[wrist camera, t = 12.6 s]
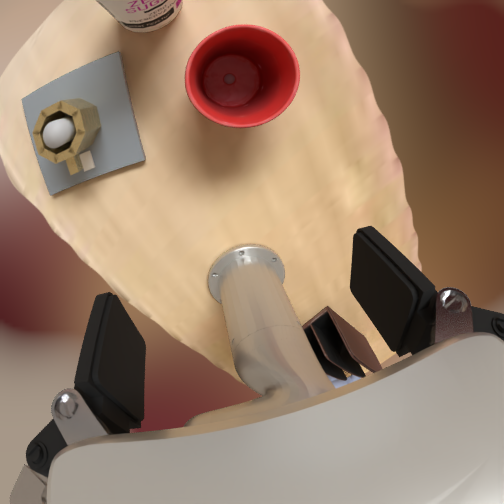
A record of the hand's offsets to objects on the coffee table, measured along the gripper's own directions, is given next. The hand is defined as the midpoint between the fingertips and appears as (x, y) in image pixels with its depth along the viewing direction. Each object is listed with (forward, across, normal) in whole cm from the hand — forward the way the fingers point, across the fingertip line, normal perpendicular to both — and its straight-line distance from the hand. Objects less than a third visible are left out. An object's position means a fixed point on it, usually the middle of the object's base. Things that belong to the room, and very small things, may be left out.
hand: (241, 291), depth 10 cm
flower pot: (+29, -5, -8) cm, 30 cm away
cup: (+27, +15, -7) cm, 32 cm away
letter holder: (+29, -18, +46) cm, 57 cm away
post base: (+28, +15, -8) cm, 33 cm away
